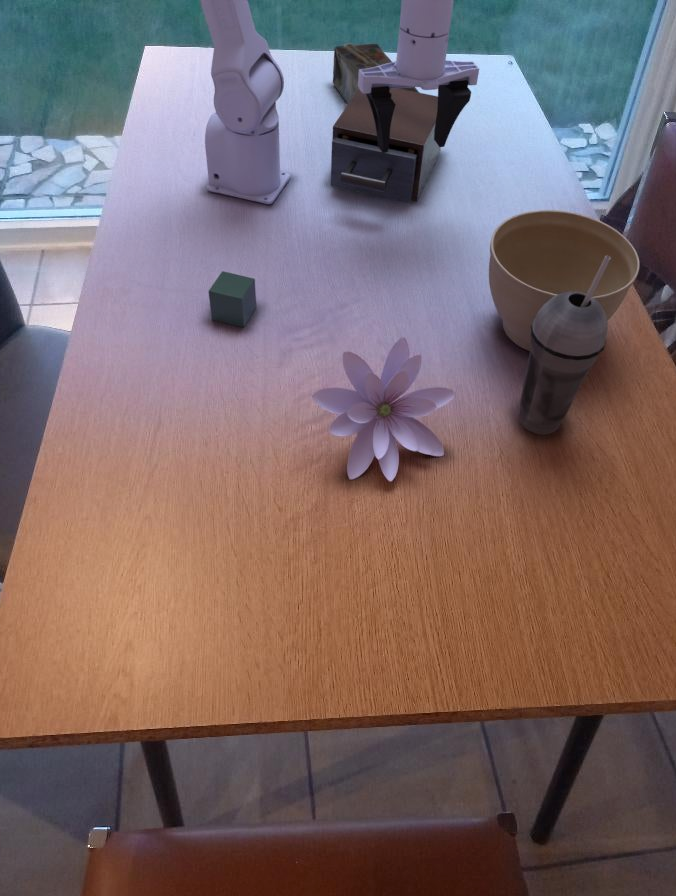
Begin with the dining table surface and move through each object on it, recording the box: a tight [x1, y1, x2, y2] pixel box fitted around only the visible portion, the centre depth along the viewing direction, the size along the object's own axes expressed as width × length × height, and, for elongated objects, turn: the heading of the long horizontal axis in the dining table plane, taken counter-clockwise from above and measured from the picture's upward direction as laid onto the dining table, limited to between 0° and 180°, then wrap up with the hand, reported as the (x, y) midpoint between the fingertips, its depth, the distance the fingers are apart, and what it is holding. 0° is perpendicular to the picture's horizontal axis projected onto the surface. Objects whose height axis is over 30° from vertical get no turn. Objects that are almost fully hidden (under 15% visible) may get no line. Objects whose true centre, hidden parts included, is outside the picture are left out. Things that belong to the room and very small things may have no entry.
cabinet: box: [332, 88, 442, 203], centre depth 110 cm, size 15×13×8 cm
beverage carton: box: [332, 42, 421, 105], centre depth 122 cm, size 8×19×7 cm, turn 20°
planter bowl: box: [488, 209, 640, 352], centre depth 88 cm, size 16×16×11 cm
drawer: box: [330, 134, 418, 204], centre depth 107 cm, size 18×11×6 cm, turn 164°
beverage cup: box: [518, 256, 610, 435], centre depth 75 cm, size 7×7×20 cm
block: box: [208, 270, 257, 328], centre depth 89 cm, size 4×4×4 cm
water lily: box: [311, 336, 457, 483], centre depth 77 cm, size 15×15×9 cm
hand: (411, 145), depth 98 cm, fingers open, 7 cm apart
